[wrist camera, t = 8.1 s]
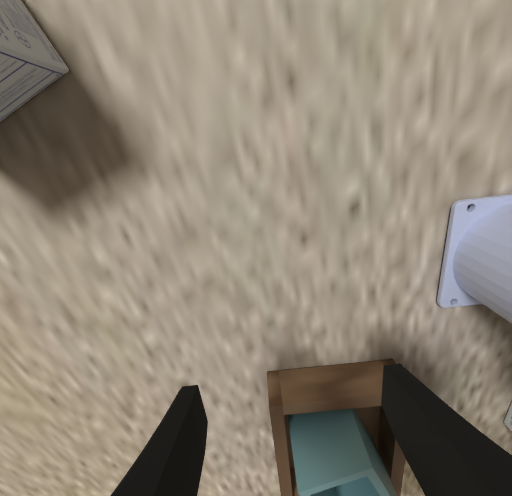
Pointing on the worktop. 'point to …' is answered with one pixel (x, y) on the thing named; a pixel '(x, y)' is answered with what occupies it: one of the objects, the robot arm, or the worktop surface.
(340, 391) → the walnut crate
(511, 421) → the supplement box
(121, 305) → the worktop surface
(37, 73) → the medicine box
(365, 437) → the teal crate
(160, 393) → the worktop surface
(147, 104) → the worktop surface
